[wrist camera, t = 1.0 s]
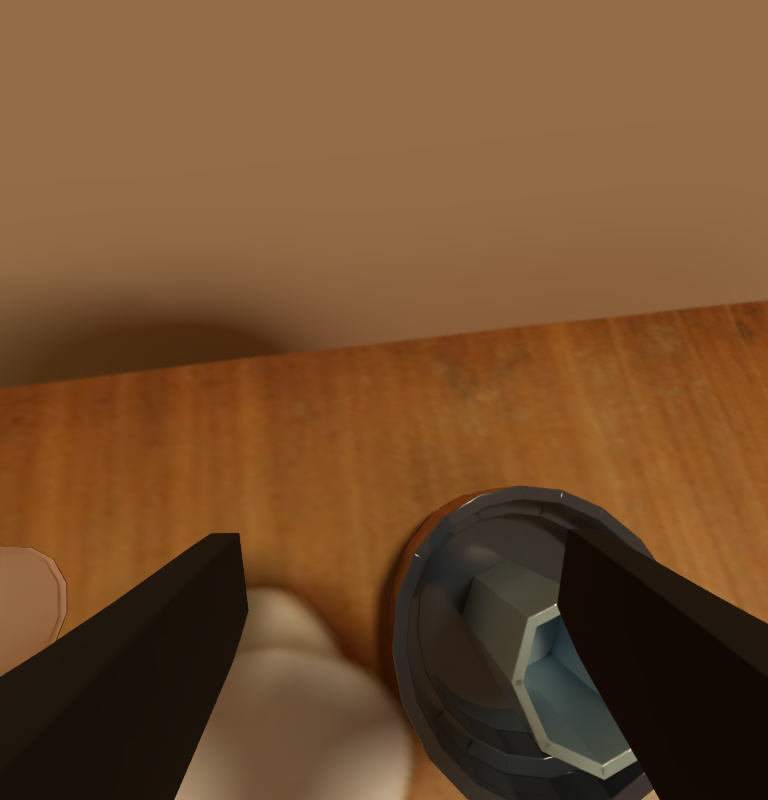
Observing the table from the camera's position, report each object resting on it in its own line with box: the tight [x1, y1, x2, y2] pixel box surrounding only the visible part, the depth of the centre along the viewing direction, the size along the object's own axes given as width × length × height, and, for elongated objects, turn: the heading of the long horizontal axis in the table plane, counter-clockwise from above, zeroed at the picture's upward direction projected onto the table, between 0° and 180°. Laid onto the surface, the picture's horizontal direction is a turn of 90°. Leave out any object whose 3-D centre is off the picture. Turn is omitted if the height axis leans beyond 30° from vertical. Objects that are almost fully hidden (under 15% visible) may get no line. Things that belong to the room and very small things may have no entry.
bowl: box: [389, 486, 656, 800], centre depth 17 cm, size 12×12×4 cm
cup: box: [462, 560, 637, 780], centre depth 15 cm, size 5×5×7 cm
